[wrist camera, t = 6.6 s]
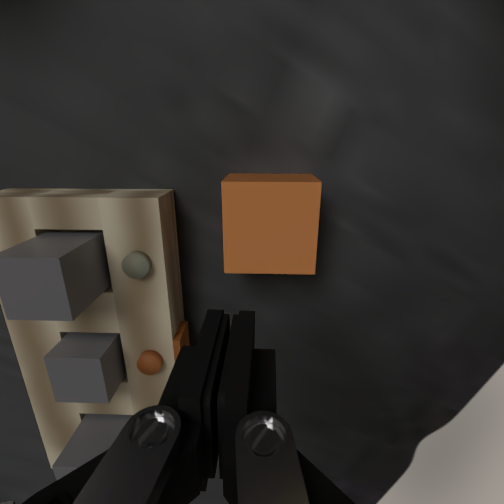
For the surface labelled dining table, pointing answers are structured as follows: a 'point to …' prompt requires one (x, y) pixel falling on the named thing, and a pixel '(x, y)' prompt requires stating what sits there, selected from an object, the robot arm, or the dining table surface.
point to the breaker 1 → (53, 276)
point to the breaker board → (103, 296)
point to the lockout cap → (270, 223)
